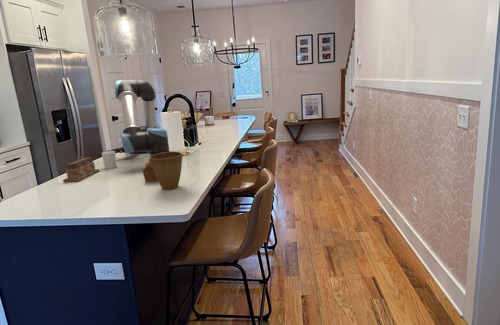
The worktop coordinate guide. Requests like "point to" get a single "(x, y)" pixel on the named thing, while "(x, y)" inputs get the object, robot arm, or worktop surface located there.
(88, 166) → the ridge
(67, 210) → the worktop surface
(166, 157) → the plant pot
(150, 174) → the bread
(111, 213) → the worktop surface
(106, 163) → the white cup
